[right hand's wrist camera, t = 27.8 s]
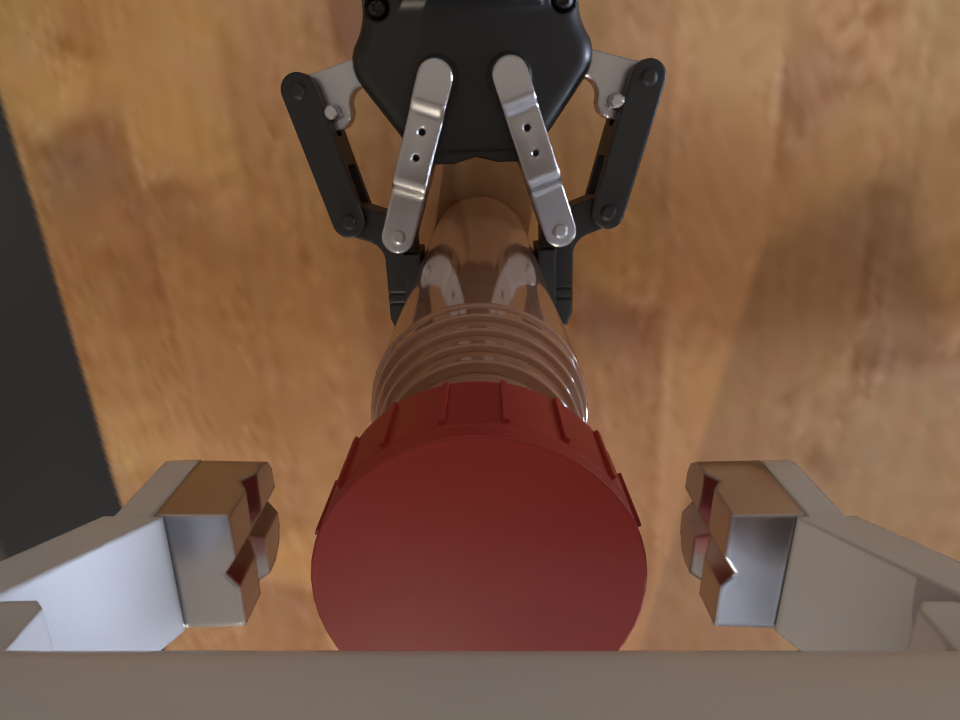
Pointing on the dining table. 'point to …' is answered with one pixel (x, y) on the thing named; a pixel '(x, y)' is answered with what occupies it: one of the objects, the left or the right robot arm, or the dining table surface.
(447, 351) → the bottle
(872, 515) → the dining table surface
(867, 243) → the dining table surface
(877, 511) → the dining table surface
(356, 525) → the cap
